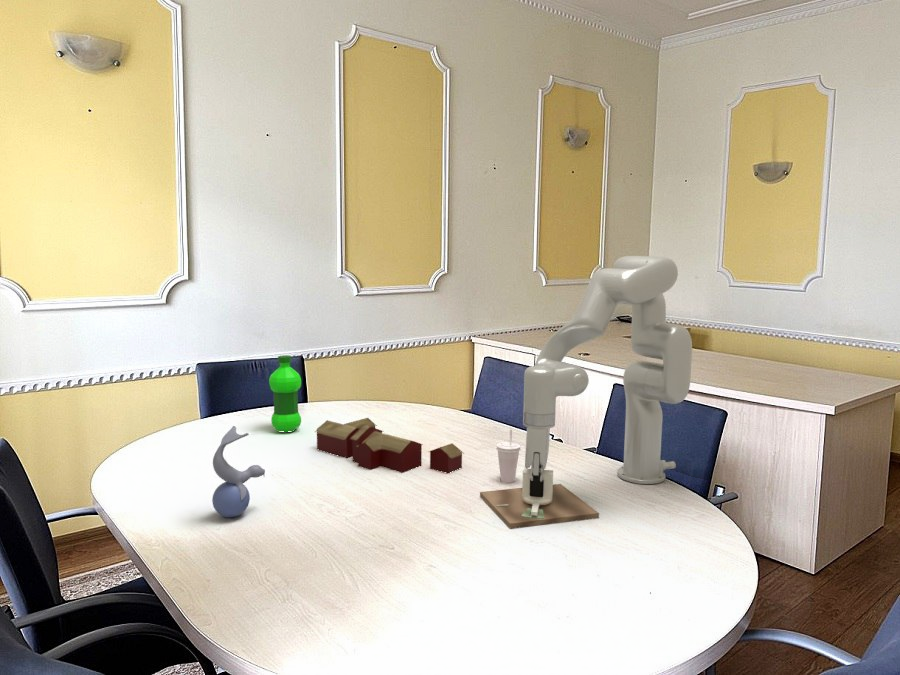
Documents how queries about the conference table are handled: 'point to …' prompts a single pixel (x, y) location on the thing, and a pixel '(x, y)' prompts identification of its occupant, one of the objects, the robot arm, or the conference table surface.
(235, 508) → the seal
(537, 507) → the peg knob
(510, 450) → the smoothie
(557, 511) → the dial board
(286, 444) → the conference table surface
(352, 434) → the toy houses
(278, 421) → the plastic bottle
